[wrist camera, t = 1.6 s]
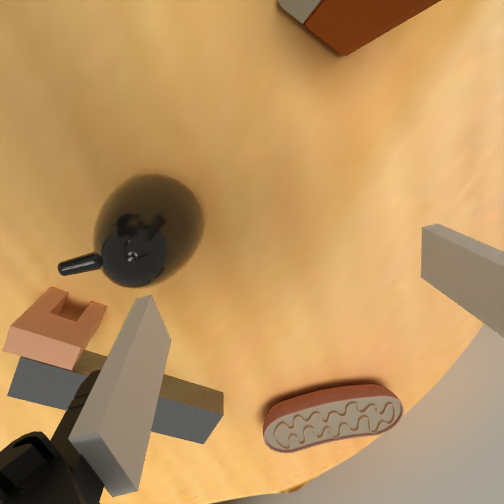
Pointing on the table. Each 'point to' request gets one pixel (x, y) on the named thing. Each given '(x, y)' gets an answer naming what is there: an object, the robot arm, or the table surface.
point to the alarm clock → (352, 19)
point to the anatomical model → (331, 417)
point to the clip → (53, 331)
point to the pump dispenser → (143, 233)
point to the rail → (167, 410)
